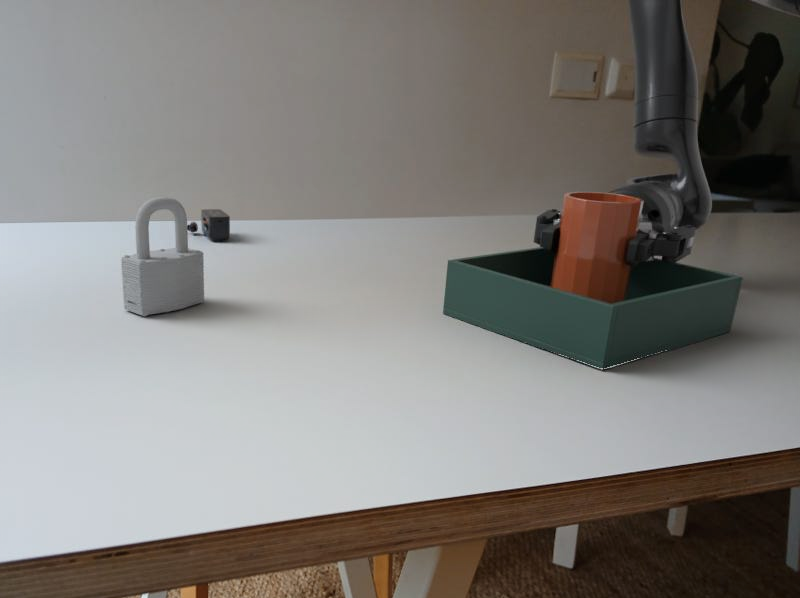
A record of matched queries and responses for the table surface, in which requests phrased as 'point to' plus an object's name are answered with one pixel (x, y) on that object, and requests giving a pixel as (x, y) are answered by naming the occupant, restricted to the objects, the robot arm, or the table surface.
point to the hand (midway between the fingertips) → (589, 247)
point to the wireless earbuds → (213, 224)
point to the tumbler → (596, 244)
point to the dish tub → (591, 306)
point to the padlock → (162, 266)
